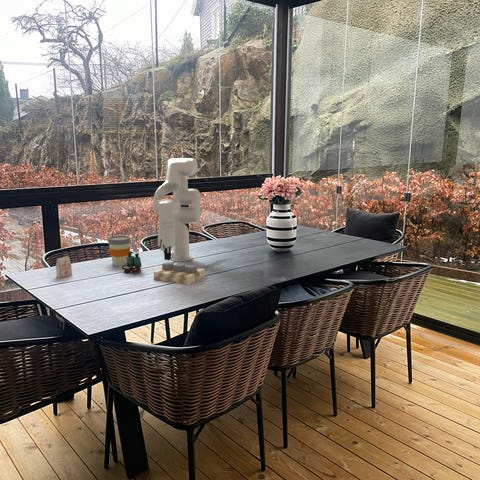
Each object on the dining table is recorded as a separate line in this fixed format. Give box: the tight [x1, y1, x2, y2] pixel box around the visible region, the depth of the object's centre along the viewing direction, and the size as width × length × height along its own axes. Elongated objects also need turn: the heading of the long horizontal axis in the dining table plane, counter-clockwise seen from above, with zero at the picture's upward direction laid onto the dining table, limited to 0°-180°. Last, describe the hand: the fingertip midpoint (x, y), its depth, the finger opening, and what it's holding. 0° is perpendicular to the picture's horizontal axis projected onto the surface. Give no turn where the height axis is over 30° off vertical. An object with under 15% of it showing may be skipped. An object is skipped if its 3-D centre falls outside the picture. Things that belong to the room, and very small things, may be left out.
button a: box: [161, 261, 175, 271], centre depth 254 cm, size 4×4×4 cm
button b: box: [173, 262, 186, 272], centre depth 251 cm, size 4×4×4 cm
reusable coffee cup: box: [107, 235, 131, 266], centre depth 281 cm, size 13×12×15 cm
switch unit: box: [153, 267, 206, 285], centre depth 252 cm, size 21×16×4 cm
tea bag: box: [55, 256, 73, 279], centre depth 256 cm, size 4×7×10 cm, turn 141°
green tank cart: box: [121, 251, 143, 275], centre depth 261 cm, size 9×11×10 cm
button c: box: [185, 264, 198, 274], centre depth 248 cm, size 4×4×4 cm
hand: (167, 259), depth 253 cm, fingers closed
